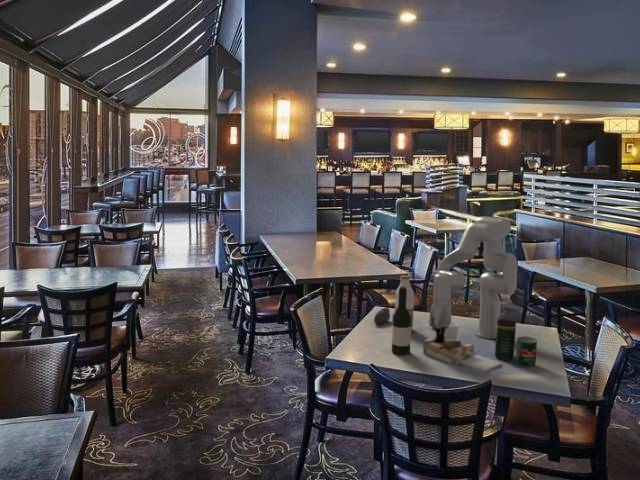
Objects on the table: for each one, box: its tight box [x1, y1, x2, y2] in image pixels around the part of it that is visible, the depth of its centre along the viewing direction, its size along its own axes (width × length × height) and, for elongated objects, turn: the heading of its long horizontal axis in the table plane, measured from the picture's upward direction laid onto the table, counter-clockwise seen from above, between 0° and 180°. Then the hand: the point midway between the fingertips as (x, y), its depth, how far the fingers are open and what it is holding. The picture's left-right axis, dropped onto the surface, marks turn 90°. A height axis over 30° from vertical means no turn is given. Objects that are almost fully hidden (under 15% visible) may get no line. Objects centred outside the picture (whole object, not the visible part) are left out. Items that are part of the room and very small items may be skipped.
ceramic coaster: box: [460, 354, 503, 373], centre depth 226 cm, size 12×12×1 cm
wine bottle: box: [391, 286, 412, 356], centre depth 238 cm, size 8×8×30 cm
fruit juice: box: [394, 274, 415, 332], centre depth 271 cm, size 9×9×28 cm
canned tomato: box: [515, 336, 538, 369], centre depth 226 cm, size 8×8×11 cm
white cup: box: [444, 321, 459, 341], centre depth 250 cm, size 8×8×10 cm
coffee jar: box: [494, 314, 517, 361], centre depth 234 cm, size 10×8×19 cm
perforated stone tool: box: [373, 307, 391, 326], centre depth 285 cm, size 15×5×7 cm, turn 145°
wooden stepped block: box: [422, 336, 475, 366], centre depth 236 cm, size 13×17×6 cm
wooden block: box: [436, 340, 463, 350], centre depth 235 cm, size 5×10×4 cm, turn 39°
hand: (439, 341), depth 239 cm, fingers closed
